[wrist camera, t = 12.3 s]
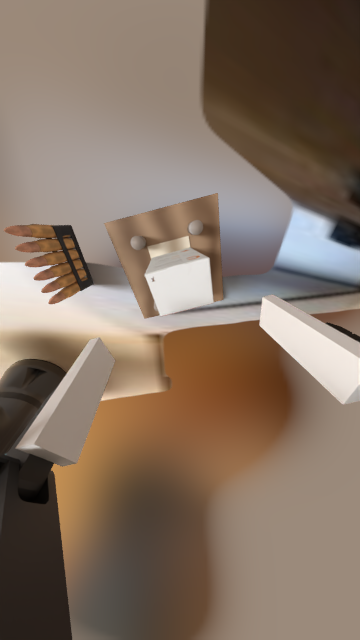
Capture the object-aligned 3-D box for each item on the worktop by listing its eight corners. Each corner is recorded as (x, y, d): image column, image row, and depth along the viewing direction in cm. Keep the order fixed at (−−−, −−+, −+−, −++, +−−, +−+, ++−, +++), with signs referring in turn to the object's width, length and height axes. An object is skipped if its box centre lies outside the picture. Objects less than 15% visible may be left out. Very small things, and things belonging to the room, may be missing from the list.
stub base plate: (145, 315, 36) (142, 327, 31) (107, 223, 25) (94, 221, 21) (221, 297, 35) (229, 306, 31) (215, 195, 25) (226, 186, 20)
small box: (160, 287, 31) (159, 318, 20) (151, 257, 27) (142, 273, 16) (196, 278, 30) (215, 303, 19) (191, 246, 27) (209, 255, 16)
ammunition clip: (93, 283, 31) (59, 308, 21) (85, 284, 31) (45, 309, 20) (71, 225, 25) (7, 219, 15) (60, 225, 25) (-12, 220, 15)
